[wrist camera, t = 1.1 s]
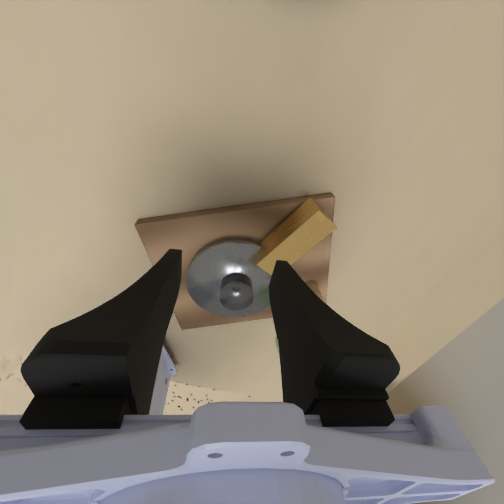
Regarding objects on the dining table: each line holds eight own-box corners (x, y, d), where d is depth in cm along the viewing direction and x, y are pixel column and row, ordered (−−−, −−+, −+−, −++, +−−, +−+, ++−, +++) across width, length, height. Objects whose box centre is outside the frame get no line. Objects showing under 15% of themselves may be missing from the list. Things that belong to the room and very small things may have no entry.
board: (322, 304, 31) (333, 330, 28) (183, 323, 31) (177, 351, 28) (331, 192, 22) (348, 211, 19) (138, 219, 23) (122, 242, 19)
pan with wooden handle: (240, 322, 30) (240, 343, 27) (168, 282, 25) (161, 304, 23) (349, 237, 24) (363, 255, 21) (280, 167, 19) (287, 179, 17)
